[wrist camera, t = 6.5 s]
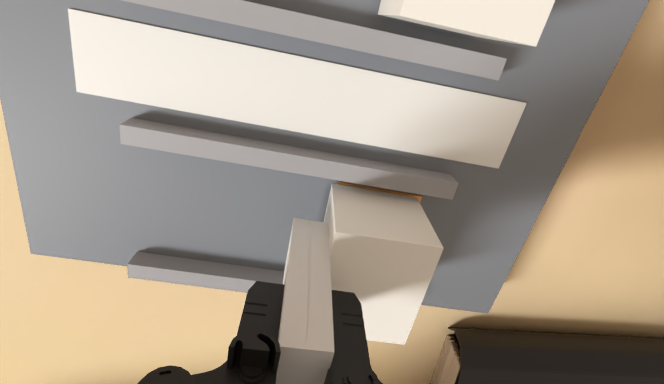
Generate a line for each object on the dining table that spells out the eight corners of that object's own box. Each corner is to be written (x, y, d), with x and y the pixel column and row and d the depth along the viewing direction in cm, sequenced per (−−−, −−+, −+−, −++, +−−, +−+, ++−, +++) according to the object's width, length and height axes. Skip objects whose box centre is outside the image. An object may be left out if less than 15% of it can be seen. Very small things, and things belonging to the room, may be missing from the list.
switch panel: (474, 289, 22) (495, 327, 20) (57, 231, 20) (15, 266, 17) (667, -116, 14) (751, -147, 11) (-29, -323, 11) (-141, -432, 8)
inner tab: (388, 281, 19) (404, 344, 15) (312, 271, 18) (310, 333, 15) (416, 197, 17) (443, 248, 13) (332, 183, 16) (335, 231, 13)
